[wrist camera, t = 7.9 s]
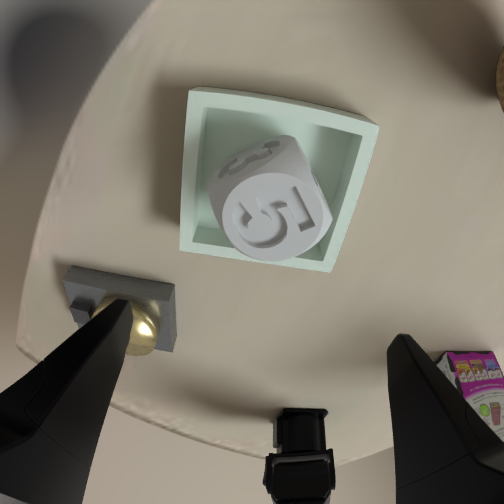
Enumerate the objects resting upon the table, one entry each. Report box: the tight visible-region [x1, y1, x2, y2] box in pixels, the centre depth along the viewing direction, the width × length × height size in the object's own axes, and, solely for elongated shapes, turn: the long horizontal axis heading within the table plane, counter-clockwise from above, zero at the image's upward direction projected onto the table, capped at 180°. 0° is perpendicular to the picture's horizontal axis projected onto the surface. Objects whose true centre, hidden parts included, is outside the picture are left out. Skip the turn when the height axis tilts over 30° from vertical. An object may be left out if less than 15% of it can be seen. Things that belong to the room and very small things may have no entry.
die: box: [208, 135, 333, 261], centre depth 16 cm, size 5×5×5 cm
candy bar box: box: [435, 352, 504, 442], centre depth 25 cm, size 11×5×16 cm, turn 78°
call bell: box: [62, 266, 177, 356], centre depth 25 cm, size 10×7×4 cm
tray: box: [180, 86, 380, 273], centre depth 18 cm, size 10×10×2 cm
